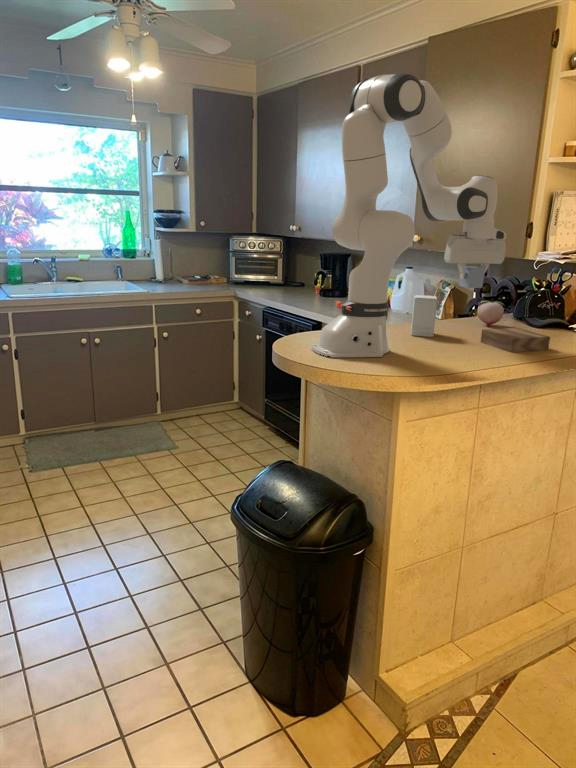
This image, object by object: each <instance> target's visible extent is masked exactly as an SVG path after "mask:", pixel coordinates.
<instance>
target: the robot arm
mask: <svg viewBox="0 0 576 768" xmlns="http://www.w3.org/2000/svg"><path fill="white" fill-rule="evenodd" d="M349 99H350V101H349V109H348V110H349V114H347V116H345V118H344V120H343V121H342V127H341V153H342V160H343V161H342V162H343V171H344V182H345V195H344V201H343V202H344V203H343V207H341V208H342V209H341V210H340V212H339V214H338V215H337V216H336V217H335V219H334V221H333V224H332V229H331V230H332V237H333V238H334V241H335V242H336V243H337V245H339V246H341V247H343V248H347V249H348V250H354V251H364V255H363V258H362V260H361V262H360V264H359V265H357V266H356V267H354V268H353V269H352V270H351V272H350V273H349V276H348V277H349V279H348V295H347V300H346V301H345V302H344V301H343V302H342V301H339V300H337V301H336V302H335V303H334V304H335V307H336V309H339V310H341V313H340V314H338V316H336V317H335V318H334V319H332V320H331V321H330V322H328V323H327V324H325V326H323V327H322V329H321V332H320V334H319V340H318V342H317V343H316V342H315V343H312V344H311V347H310V348H311V350H312V351H313V352H315V354H316V353H317V354H319V355H320V354H321V356H323V355H324V356H323V357H327V356H330V357H329V358H381V357H383V356H384V355H385V354H387V353H389V351H390V350H389V345H388V337H387V320H388V314H389V302H388V294H389V285H390V278H391V273H392V270H393V268H394V266H395V264H396V261H397V260H398V258H399V257H400V255H401V254H403V252H404V251H406V250H407V249H409V247H410V246H411V245H412V243H413V241H414V238H415V233H416V232H415V231H416V227H415V224H414V223H415V222H413V221H414V220H413V219H412V218H411V216H410V215H408V214H406V213H402V212H400V211H396V210H387V209H386V210H383V209H382V210H381V209H380V210H378V209H377V208H376V207H377V199H378V196H379V195H380V194H381V193H382V192H384V190H385V189H386V188H387V186H388V182H389V177H388V175H389V174H388V167H387V166H388V165H387V154H386V146H385V139H384V135H385V134H384V132H385V129H386V125H387V124H389V123H395V122H402V124H403V127H404V130H405V131H406V134H407V137H408V139H409V143H410V149H409V160H410V163H411V167H412V170H413V175H414V177H415V181H416V184H417V187H418V189H419V193H420V197H421V198H420V199H421V205H422V210H423V213H424V215H425V217H426V218H427V219H428V220H429V221H432V222H442V221H453V222H456V221H459V222H460V221H461V222H462V221H463V227H462V228H463V229H462V231H459V232H458V231H452V233H450V234H449V235H448V237H447V243H446V247H445V251H444V257H443V259H444V262H445V263H447V264H457V269H458V271H459V279H460V278H462V279H465V278H467V274H468V273H465V269H464V267H467V266H466V265H467V264H473V265H474V264H477V265H479V264H480V268H485V272H484V275H485V273H487V270H488V269H489V267H490V264H491V265H500V264H501V265H502V264H503V262H504V261H505V257H506V246H507V245H506V242H505V240H506V239H507V233H506V232H505V231H503V230H501V229H498V228H496V227H495V217H494V215H495V212H496V210H497V203H498V195H499V193H498V182H497V180H496V179H495V178H494V177H491V176H488V175H474V176H472V177H471V179H470V180H469V181H468V182H467V183H464V184H463V185H461V186H444V185H443V184H441V182H439V179H438V175H437V171H436V168H435V165H434V159H435V157H437V156H438V155H440V154H441V153H442V152H443V151H444V150H445V149H446V148H447V146H448V145H449V143H450V142H451V138H452V134H453V130H452V125H451V121H450V119H449V116H448V114H447V112H446V109H445V106H444V105H443V103H442V100H441V99H440V97H439V94H437V92H436V90H435V88H434V87H433V86H432V85H431V83H430V82H429V81H427V80H422V79H421V80H419V78H417V77H416V76H415V75H413V74H410V73H407V72H406V73H405V72H398V73H393V74H380V75H376V76H374V77H371V78H365V79H364V80H362V81H360V82H359V83H358V84H356V85H355V87H353V89H352V91H351V96H350V98H349Z"/></svg>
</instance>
